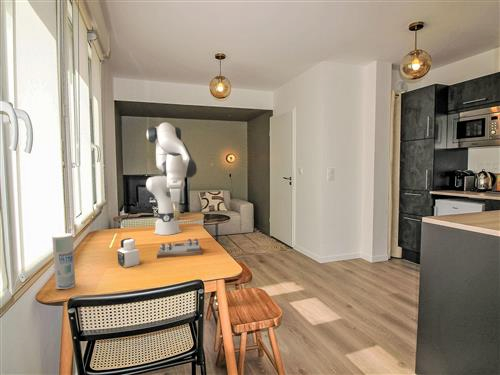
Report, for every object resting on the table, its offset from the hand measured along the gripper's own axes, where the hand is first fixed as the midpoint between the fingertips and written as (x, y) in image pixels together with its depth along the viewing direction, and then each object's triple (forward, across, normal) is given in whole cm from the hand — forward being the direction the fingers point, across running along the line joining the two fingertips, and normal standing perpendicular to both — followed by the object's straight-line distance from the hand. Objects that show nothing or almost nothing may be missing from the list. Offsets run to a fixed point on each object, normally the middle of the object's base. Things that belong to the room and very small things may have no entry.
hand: (176, 210), depth 153 cm
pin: (+5, 0, 0) cm, 5 cm away
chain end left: (+21, +1, -2) cm, 21 cm away
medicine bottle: (+23, +13, -22) cm, 34 cm away
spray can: (+23, +34, -41) cm, 58 cm away
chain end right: (+21, +1, +4) cm, 21 cm away
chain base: (+22, +1, +1) cm, 23 cm away
